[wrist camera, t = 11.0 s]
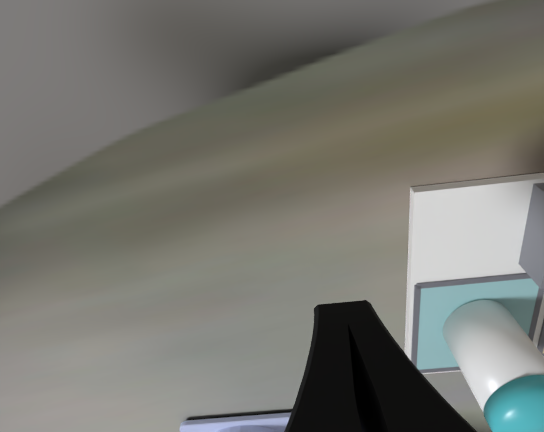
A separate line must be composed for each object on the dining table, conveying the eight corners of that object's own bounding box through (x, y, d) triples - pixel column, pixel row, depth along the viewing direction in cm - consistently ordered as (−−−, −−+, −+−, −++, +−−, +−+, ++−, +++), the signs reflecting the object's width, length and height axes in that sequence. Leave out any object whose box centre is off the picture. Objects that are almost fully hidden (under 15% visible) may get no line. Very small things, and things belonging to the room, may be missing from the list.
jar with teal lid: (511, 340, 24) (585, 444, 18) (445, 356, 24) (498, 462, 19) (509, 291, 22) (590, 390, 17) (438, 309, 22) (495, 411, 17)
